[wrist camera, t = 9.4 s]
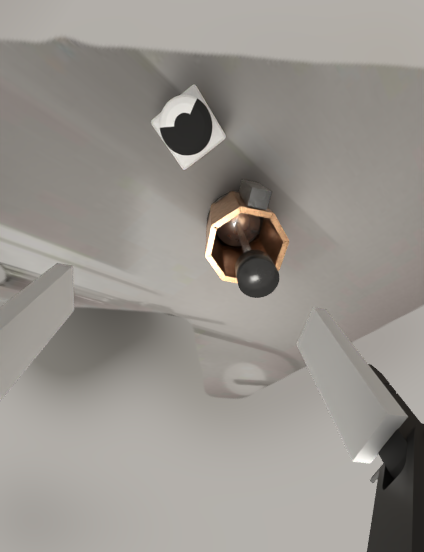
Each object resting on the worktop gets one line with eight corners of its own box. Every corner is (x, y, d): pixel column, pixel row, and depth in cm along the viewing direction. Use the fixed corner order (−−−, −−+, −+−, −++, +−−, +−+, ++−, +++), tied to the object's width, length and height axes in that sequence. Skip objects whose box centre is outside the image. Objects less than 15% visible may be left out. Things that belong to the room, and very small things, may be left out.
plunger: (211, 240, 46) (211, 305, 26) (220, 196, 43) (228, 234, 23) (252, 248, 47) (283, 318, 27) (264, 206, 43) (309, 250, 24)
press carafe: (202, 244, 47) (199, 277, 35) (216, 172, 42) (219, 180, 29) (257, 254, 48) (273, 291, 36) (277, 185, 43) (305, 199, 30)
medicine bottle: (224, 139, 40) (229, 134, 29) (187, 168, 42) (179, 173, 31) (197, 94, 38) (191, 70, 27) (159, 126, 39) (139, 116, 28)
